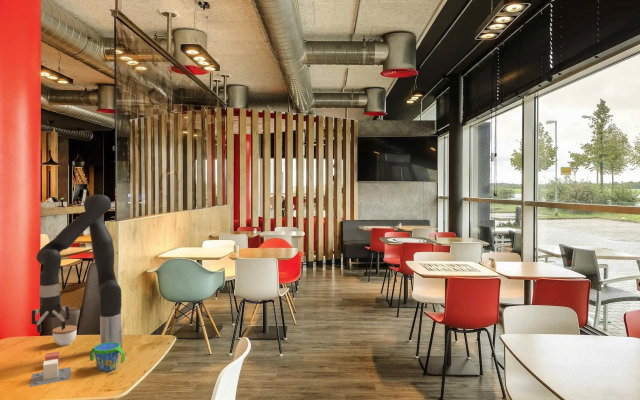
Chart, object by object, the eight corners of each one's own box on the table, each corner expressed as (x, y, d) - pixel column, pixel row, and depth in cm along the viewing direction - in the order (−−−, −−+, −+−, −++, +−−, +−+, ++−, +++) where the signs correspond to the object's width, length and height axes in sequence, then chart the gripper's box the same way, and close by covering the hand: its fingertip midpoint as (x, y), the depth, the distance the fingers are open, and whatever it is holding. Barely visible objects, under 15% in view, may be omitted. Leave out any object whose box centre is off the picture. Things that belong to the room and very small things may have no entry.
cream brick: (58, 372, 188) (57, 358, 188) (57, 377, 184) (57, 362, 183) (44, 375, 186) (43, 361, 185) (43, 380, 181) (43, 365, 181)
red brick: (59, 364, 200) (59, 351, 199) (59, 368, 195) (58, 355, 195) (46, 367, 197) (46, 353, 197) (45, 371, 193) (45, 357, 193)
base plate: (70, 369, 194) (70, 366, 194) (70, 381, 182) (70, 378, 182) (32, 376, 188) (32, 373, 188) (29, 389, 175) (29, 386, 175)
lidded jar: (59, 349, 219) (59, 330, 218) (48, 344, 225) (47, 326, 224) (81, 342, 228) (80, 324, 227) (70, 338, 234) (69, 320, 233)
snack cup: (131, 366, 196) (130, 343, 196) (113, 376, 186) (112, 352, 186) (102, 362, 201) (101, 340, 201) (83, 372, 191) (82, 348, 191)
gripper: (69, 290, 202) (70, 326, 202) (31, 294, 195) (33, 331, 196) (68, 294, 195) (69, 331, 196) (29, 298, 188) (31, 336, 189)
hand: (51, 331), depth 196 cm, fingers open, 8 cm apart
